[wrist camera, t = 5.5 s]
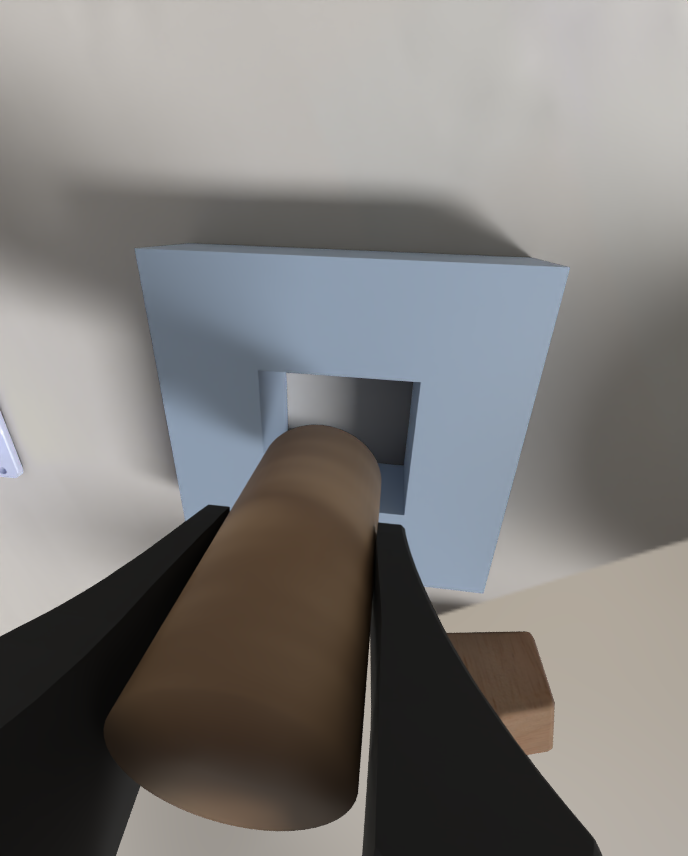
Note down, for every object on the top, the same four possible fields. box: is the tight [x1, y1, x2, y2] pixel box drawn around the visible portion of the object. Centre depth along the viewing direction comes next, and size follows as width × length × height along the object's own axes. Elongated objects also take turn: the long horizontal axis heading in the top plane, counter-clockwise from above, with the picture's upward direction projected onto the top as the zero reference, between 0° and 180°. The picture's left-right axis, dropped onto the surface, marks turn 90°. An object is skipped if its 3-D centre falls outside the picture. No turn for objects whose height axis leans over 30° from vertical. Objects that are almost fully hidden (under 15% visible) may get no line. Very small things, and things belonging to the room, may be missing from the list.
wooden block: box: [447, 632, 555, 755], centre depth 19 cm, size 9×4×18 cm, turn 102°
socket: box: [135, 243, 570, 593], centre depth 18 cm, size 14×14×4 cm
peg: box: [104, 425, 381, 831], centre depth 10 cm, size 4×4×8 cm
